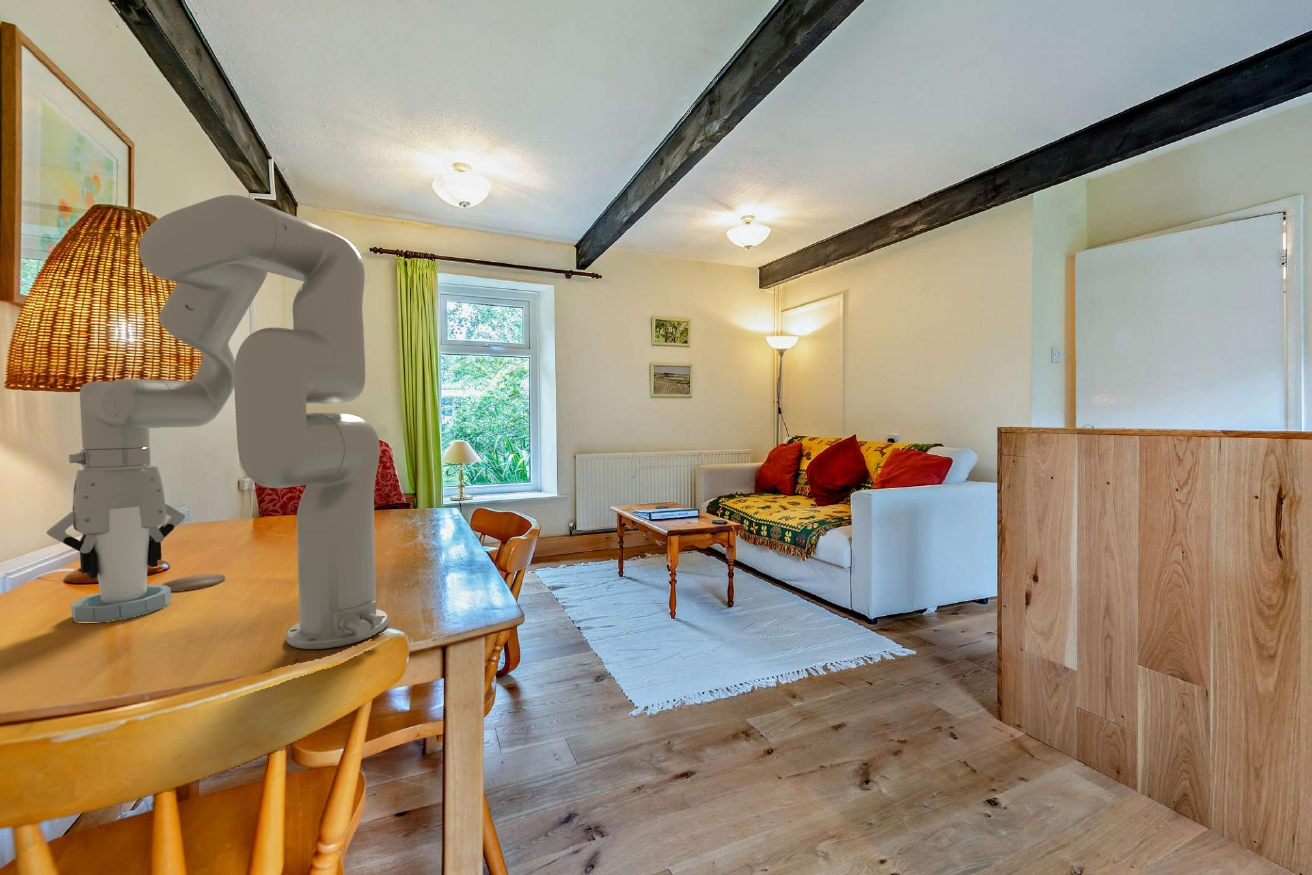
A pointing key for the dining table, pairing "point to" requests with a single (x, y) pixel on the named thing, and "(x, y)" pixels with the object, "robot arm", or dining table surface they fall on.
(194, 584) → the walnut coaster
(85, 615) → the round dish
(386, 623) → the robot arm
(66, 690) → the dining table surface
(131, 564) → the drinking glass
